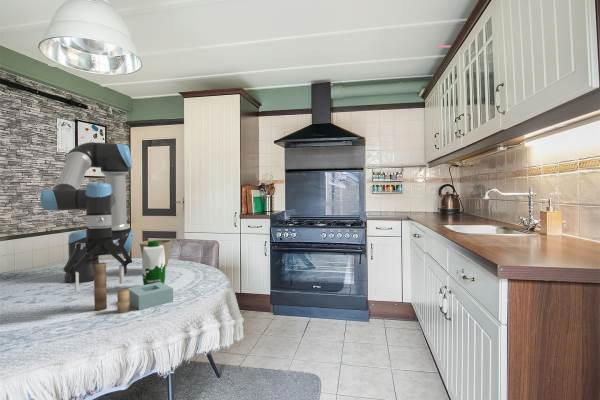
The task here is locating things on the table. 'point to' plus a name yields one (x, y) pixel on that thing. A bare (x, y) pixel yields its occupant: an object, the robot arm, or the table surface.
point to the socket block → (150, 295)
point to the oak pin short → (123, 301)
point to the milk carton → (153, 263)
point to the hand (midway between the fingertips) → (100, 287)
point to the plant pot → (160, 242)
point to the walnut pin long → (100, 287)
